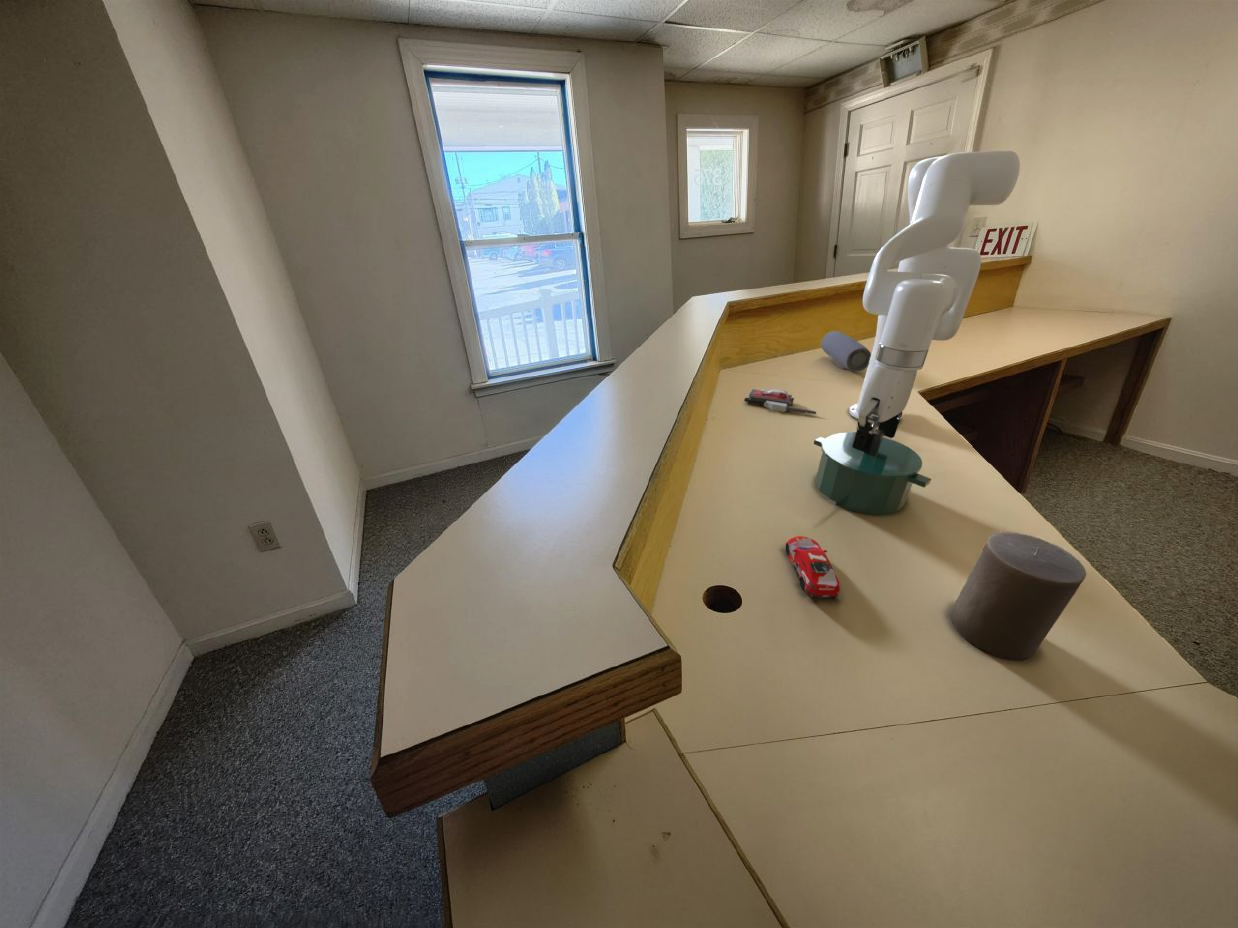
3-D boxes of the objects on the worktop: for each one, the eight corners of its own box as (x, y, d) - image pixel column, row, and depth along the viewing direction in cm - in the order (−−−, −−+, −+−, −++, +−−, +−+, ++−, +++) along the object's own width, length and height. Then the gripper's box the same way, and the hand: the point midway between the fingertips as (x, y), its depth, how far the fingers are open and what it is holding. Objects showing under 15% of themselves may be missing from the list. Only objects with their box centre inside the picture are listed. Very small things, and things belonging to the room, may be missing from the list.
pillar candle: (1006, 671, 57) (1064, 585, 50) (933, 616, 65) (974, 534, 58) (1051, 645, 61) (1112, 561, 53) (977, 595, 69) (1020, 515, 61)
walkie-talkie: (741, 406, 132) (814, 419, 124) (743, 392, 129) (818, 404, 122) (748, 396, 138) (817, 407, 131) (750, 382, 136) (821, 393, 129)
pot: (829, 457, 105) (838, 424, 101) (932, 500, 90) (948, 463, 86) (788, 481, 96) (795, 446, 92) (895, 533, 81) (910, 493, 77)
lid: (848, 429, 100) (854, 406, 97) (935, 460, 88) (946, 434, 85) (803, 454, 91) (809, 428, 88) (894, 492, 79) (904, 464, 76)
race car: (781, 544, 79) (785, 526, 77) (813, 545, 79) (818, 527, 77) (804, 601, 68) (809, 582, 66) (841, 603, 67) (847, 583, 65)
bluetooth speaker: (868, 375, 155) (877, 346, 150) (841, 375, 155) (848, 346, 150) (841, 355, 174) (847, 329, 169) (816, 355, 174) (822, 329, 169)
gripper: (900, 343, 86) (875, 424, 95) (854, 360, 77) (831, 448, 86) (943, 351, 81) (913, 436, 90) (900, 371, 72) (871, 464, 81)
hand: (873, 442), depth 88 cm, fingers open, 9 cm apart
